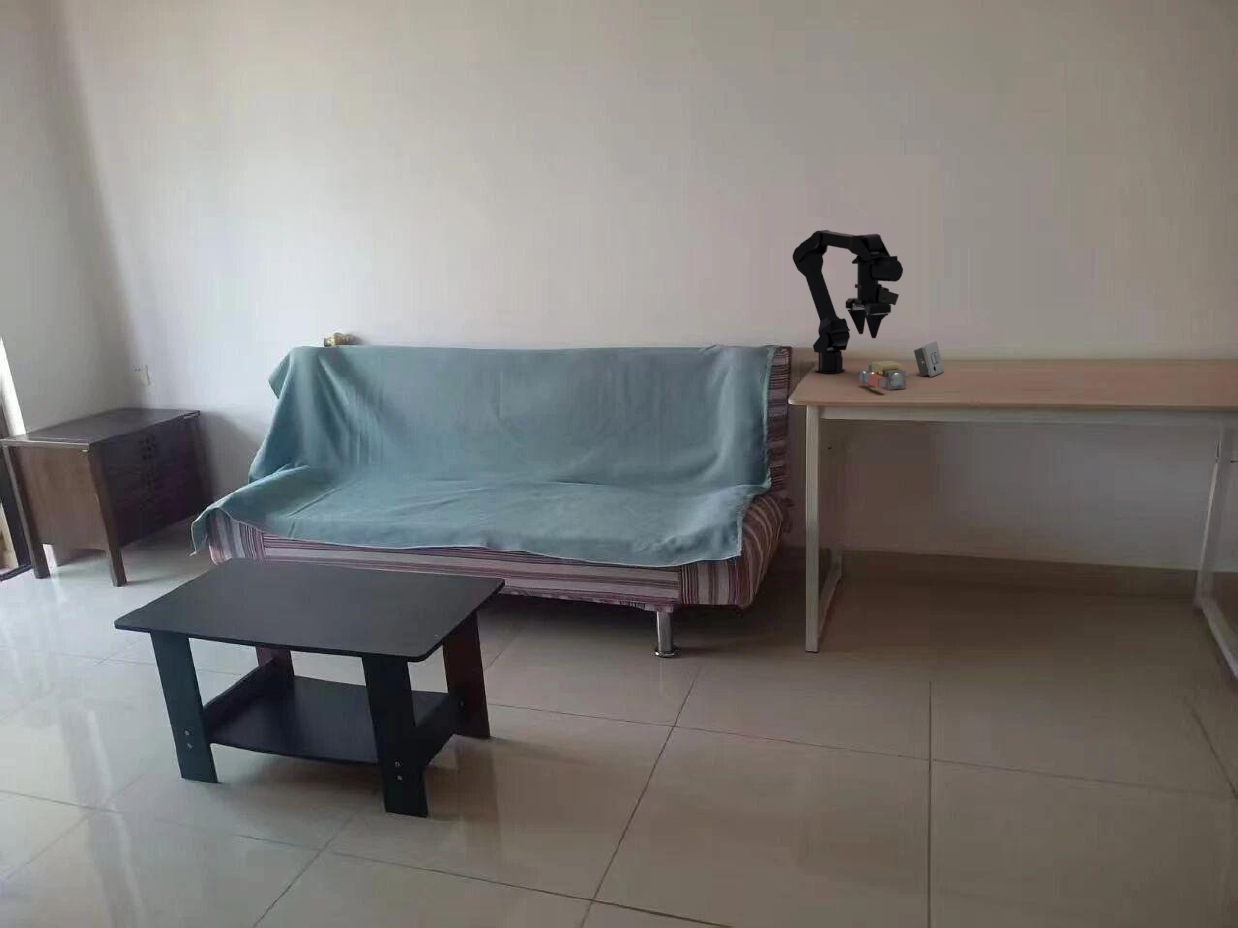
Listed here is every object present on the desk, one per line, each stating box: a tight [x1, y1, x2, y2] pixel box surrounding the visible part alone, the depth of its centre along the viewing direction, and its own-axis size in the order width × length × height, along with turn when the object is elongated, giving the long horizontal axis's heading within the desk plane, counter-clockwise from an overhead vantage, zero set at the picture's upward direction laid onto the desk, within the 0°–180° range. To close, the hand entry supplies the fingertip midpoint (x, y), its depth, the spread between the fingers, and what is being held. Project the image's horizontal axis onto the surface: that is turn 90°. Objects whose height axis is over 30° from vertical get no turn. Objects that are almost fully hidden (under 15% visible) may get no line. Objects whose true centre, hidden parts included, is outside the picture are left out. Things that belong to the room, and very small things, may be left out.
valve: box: [868, 360, 907, 391], centre depth 262 cm, size 15×8×6 cm, turn 8°
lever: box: [858, 369, 886, 389], centre depth 256 cm, size 3×2×14 cm
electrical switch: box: [913, 340, 945, 378], centre depth 273 cm, size 9×5×9 cm, turn 141°
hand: (867, 336), depth 271 cm, fingers open, 9 cm apart
